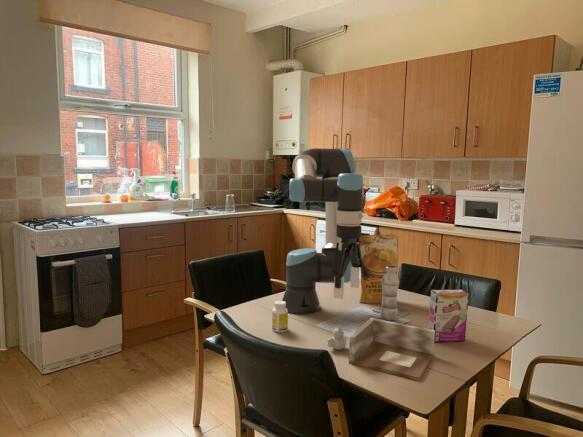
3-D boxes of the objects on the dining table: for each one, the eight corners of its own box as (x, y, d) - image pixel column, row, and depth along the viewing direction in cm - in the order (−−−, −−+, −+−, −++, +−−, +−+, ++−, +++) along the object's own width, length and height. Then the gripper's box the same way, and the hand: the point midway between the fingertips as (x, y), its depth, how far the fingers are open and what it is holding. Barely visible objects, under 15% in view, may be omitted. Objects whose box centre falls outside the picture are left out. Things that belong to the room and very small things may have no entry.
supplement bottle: (289, 328, 152) (290, 300, 150) (284, 333, 147) (284, 305, 145) (275, 326, 153) (275, 299, 152) (269, 331, 148) (269, 303, 147)
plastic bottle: (387, 323, 157) (390, 269, 155) (375, 317, 163) (378, 265, 160) (401, 321, 160) (404, 267, 157) (389, 315, 166) (391, 263, 163)
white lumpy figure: (350, 350, 134) (351, 325, 133) (331, 354, 131) (332, 329, 130) (340, 343, 139) (341, 319, 138) (322, 347, 136) (323, 322, 135)
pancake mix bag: (352, 299, 184) (354, 234, 181) (394, 297, 189) (397, 233, 185) (358, 304, 178) (361, 237, 174) (401, 302, 182) (404, 236, 179)
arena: (348, 363, 126) (349, 336, 125) (370, 341, 141) (371, 317, 140) (418, 381, 116) (420, 352, 115) (433, 355, 131) (434, 330, 130)
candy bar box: (433, 343, 141) (436, 294, 139) (426, 337, 146) (429, 289, 144) (466, 342, 142) (469, 293, 140) (458, 335, 147) (461, 288, 145)
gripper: (345, 230, 119) (343, 305, 122) (373, 221, 141) (371, 284, 144) (320, 228, 123) (319, 301, 125) (351, 219, 145) (349, 281, 147)
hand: (346, 292), depth 135 cm, fingers open, 13 cm apart
